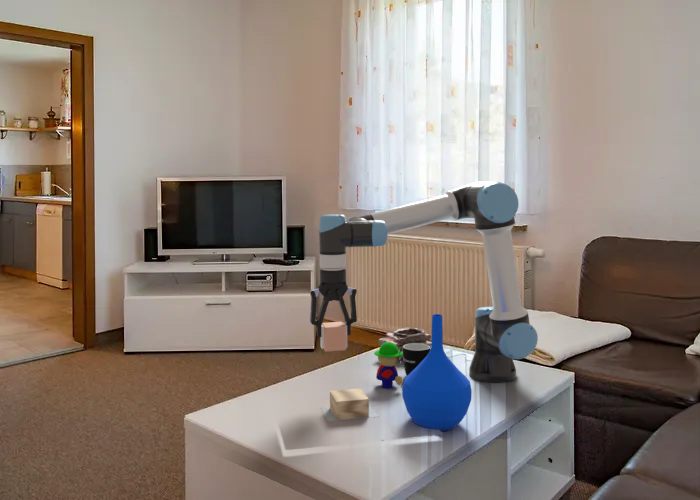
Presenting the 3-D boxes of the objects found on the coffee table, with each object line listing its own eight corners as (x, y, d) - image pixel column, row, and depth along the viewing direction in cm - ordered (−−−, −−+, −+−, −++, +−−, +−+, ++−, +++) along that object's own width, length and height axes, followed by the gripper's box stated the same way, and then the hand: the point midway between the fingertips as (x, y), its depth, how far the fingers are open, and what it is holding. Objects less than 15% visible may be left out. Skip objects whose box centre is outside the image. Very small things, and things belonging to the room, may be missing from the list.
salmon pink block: (342, 344, 192) (341, 321, 191) (346, 350, 186) (345, 326, 186) (322, 346, 191) (321, 322, 190) (325, 351, 185) (325, 327, 184)
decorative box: (440, 358, 235) (440, 332, 233) (393, 367, 225) (393, 339, 224) (419, 350, 246) (419, 325, 245) (374, 357, 237) (374, 331, 236)
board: (369, 408, 186) (369, 403, 186) (378, 420, 176) (378, 416, 176) (321, 412, 183) (321, 408, 183) (327, 425, 173) (327, 421, 173)
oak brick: (361, 405, 185) (360, 388, 184) (368, 416, 176) (368, 398, 176) (330, 408, 183) (329, 390, 182) (336, 419, 174) (336, 401, 174)
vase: (422, 407, 186) (423, 305, 183) (482, 420, 176) (484, 312, 172) (389, 428, 171) (389, 317, 168) (452, 444, 161) (453, 326, 157)
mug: (397, 375, 216) (397, 345, 214) (417, 370, 221) (417, 341, 220) (421, 384, 206) (421, 353, 205) (442, 379, 211) (442, 349, 210)
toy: (402, 396, 196) (401, 347, 194) (371, 394, 197) (371, 346, 196) (406, 384, 206) (406, 338, 204) (377, 383, 208) (376, 337, 206)
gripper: (362, 265, 191) (362, 341, 194) (298, 267, 188) (299, 345, 190) (368, 268, 184) (368, 348, 187) (301, 271, 180) (303, 352, 183)
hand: (333, 346), depth 189 cm, fingers closed on salmon pink block, 6 cm apart
